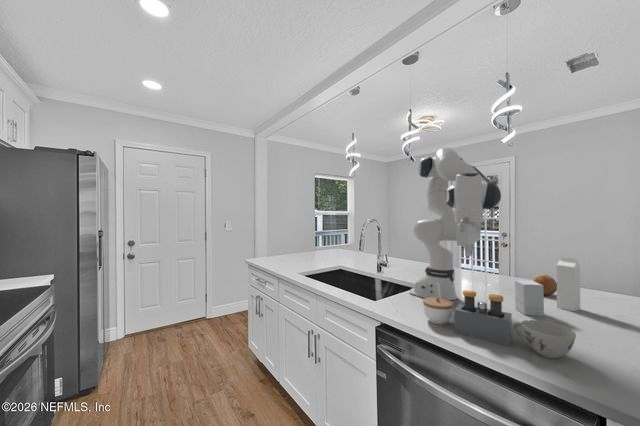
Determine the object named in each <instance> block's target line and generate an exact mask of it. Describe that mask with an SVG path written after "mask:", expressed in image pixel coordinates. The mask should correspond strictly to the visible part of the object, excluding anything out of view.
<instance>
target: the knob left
mask: <svg viewBox="0 0 640 426" xmlns="http://www.w3.org/2000/svg"><path fill="white" fill-rule="evenodd" d="M462 295H463V296H464V297H463V298H464V300H463V301H464V302H463V304H464V308H465V310H466V311H471V312H475V307H476V306H475V304H476V303H475V302H476V300H475V299H476V298H475V297H477V291H474V290H471V289H470V290H469V289H465V290H462Z"/></svg>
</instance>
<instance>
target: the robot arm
mask: <svg viewBox="0 0 640 426" xmlns="http://www.w3.org/2000/svg"><path fill="white" fill-rule="evenodd" d="M417 172H418V174H419V176H420V177H422V178H429V179H428V182H427V189H426V199H427V209H428V211H429V212H430V213H431V214H433V215H435V216H437V217H439V218H436V219H435V218H434V219H433V218H432V219H431V218H430V219H429V218H426V219H421V220H417V222H415V223H414V226H413V233H414V236H415V237H416V238H417V239H418V240H419V241H420V242H421V243H422V244H424V246H425V247H426V251H427V252H428V254H427V255H428V260H429V262H428V264H429V265H428V266H427V267H425V269H424V273H425V274H424V275H422V276H421V277H419V278H417V279H416V280H415V282H414V285H413V287H412V288H410V290H409V294H410V295H412V296H416V297H419V298H423V299H425V298H432V297H434V298H436V297H439V298H443V299H446V300H449V301H454V300H457V299H458V296H457V291H456V286H455V277H456V276H455V268H454V254H453V252H452V251H451V250H449V249H448V248H446V247H444V246H442V245H440V242H456V245H457V246H459V247H460V246H461V247H463V249H464V255H465V256H466V257H472V256H473V255H474V253H473V251H474V245H475V243H477V242H479V241H480V239H481V232H482V231H481V230H482V223H483V222H484V210H491V209H494V207H495V206H497V205H498V204H499V203H500V202H501V198H502V193H501V190H500V188H499V186H498V185H497V184H495V183H494V182H492V181H490V180H489V179H488V178H487V177H486V176H485V175H484V174H483V173H482V172H481V171H480V170H479V169H478V168H477V167H476V166H474V165H472V164H470V163H467V162H465V161H464V159H463V158H462V157H460V156H459V154H458V153H457V152H456V150H454V149H452V148H451V147H442V148H440V149H439V150H438V151H436V153H435V155H434V156H428V157H423V158H421V159H420V160H419V162H418V165H417ZM449 182H454V183H453V184H451V185H449Z"/></svg>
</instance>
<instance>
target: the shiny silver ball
mask: <svg viewBox="0 0 640 426" xmlns="http://www.w3.org/2000/svg"><path fill="white" fill-rule="evenodd" d="M477 307H478V312H481V313H487V309H488V303H487V302H484V301H477Z"/></svg>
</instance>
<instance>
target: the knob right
mask: <svg viewBox="0 0 640 426" xmlns="http://www.w3.org/2000/svg"><path fill="white" fill-rule="evenodd" d="M488 300H490V301H489V302H490V305H489V306H490V315H491V316H496V317H500V318H502V312H503V311H502V310H503V307H502V306H503V305H502V302H504V296H503V295H501V294H495V293H494V294H493V293H492V294H491V293H490V294H488Z"/></svg>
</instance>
